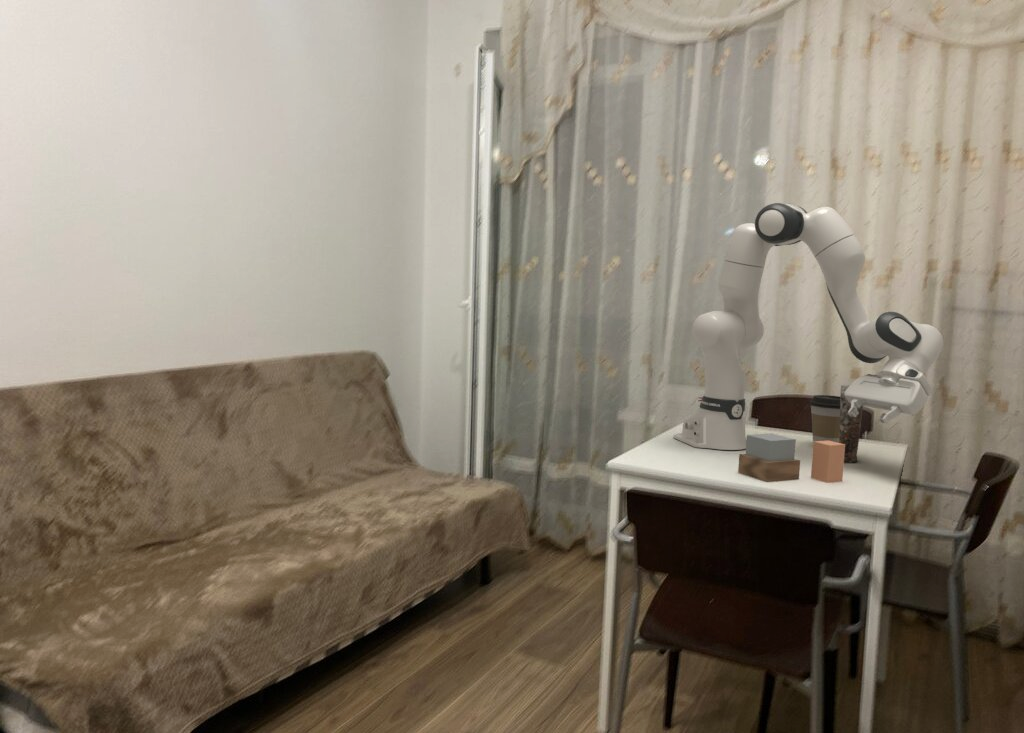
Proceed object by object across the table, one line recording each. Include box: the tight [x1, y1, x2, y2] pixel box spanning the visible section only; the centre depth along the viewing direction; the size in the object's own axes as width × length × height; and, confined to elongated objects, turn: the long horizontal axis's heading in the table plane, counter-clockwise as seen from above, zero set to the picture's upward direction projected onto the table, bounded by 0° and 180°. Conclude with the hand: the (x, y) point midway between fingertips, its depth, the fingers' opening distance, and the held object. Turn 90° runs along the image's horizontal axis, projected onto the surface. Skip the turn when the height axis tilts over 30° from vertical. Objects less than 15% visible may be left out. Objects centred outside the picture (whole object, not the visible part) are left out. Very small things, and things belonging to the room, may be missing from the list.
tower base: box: [737, 453, 801, 483], centre depth 193 cm, size 10×10×5 cm
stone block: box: [839, 384, 864, 463], centre depth 217 cm, size 13×7×20 cm, turn 162°
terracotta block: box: [810, 441, 845, 484], centre depth 191 cm, size 5×5×9 cm
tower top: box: [745, 432, 797, 462], centre depth 192 cm, size 8×8×5 cm
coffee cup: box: [808, 394, 840, 445], centre depth 233 cm, size 11×11×15 cm
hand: (866, 418), depth 195 cm, fingers open, 8 cm apart
